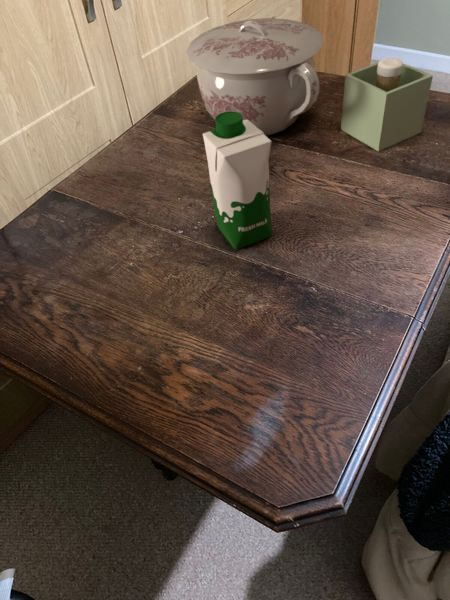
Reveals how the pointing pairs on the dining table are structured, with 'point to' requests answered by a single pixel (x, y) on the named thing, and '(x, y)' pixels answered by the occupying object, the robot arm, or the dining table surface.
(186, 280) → the dining table surface
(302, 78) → the chamber pot
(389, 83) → the sprinkles bottle
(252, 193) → the milk carton
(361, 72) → the bin
